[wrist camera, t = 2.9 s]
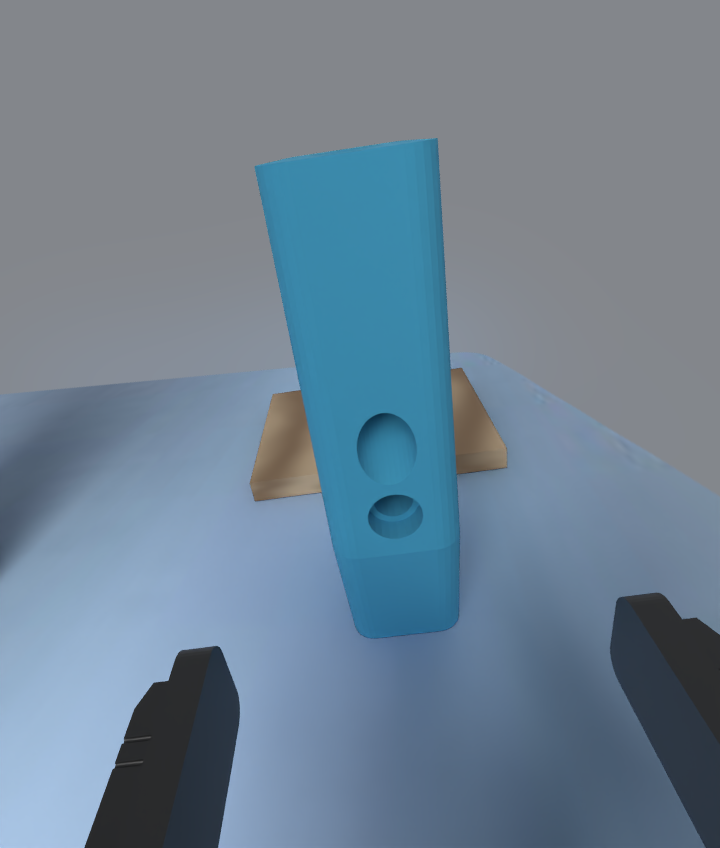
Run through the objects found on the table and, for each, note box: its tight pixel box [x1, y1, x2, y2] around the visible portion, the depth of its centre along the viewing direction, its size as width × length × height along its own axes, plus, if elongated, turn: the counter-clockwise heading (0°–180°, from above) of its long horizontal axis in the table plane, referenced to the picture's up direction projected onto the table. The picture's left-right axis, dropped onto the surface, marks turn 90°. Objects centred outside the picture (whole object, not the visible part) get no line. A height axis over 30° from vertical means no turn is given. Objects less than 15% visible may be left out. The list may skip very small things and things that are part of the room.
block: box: [255, 138, 460, 638], centre depth 23 cm, size 12×5×20 cm, turn 2°
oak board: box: [250, 368, 507, 501], centre depth 41 cm, size 17×14×2 cm
